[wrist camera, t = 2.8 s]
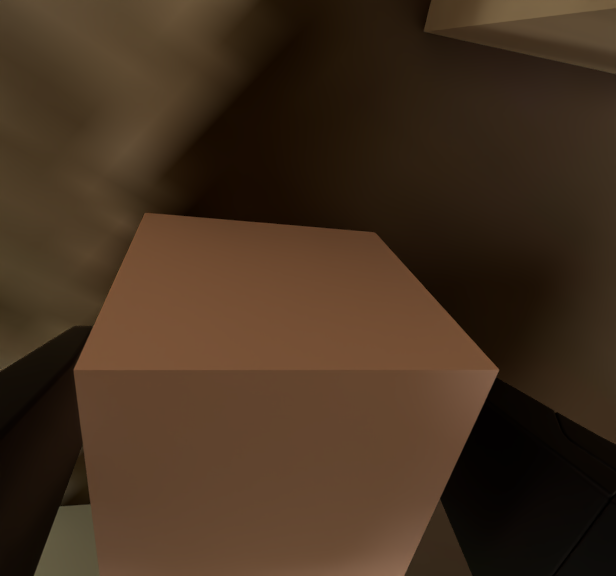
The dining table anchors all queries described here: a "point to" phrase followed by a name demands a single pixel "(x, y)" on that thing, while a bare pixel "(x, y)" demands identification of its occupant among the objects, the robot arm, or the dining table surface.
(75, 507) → the sage block
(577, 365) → the dining table surface
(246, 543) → the terracotta block
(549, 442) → the robot arm
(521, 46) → the birch block
